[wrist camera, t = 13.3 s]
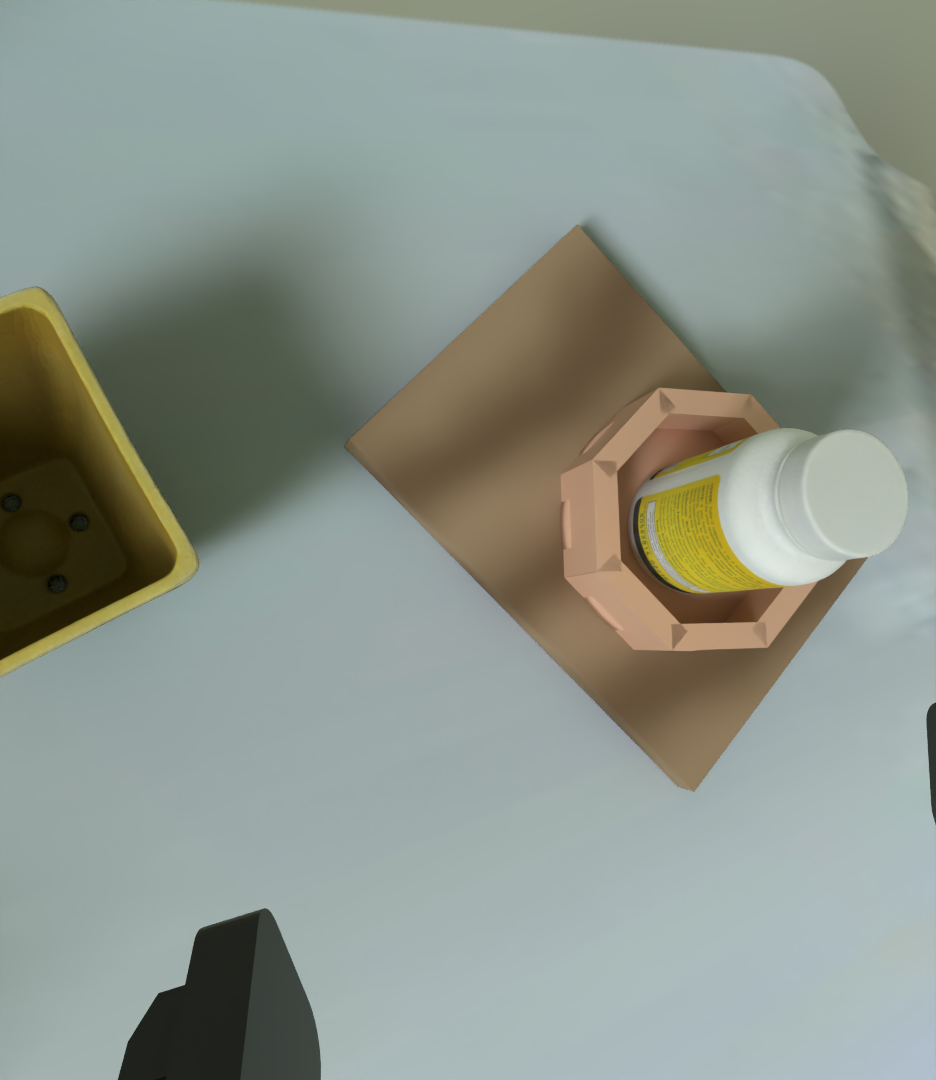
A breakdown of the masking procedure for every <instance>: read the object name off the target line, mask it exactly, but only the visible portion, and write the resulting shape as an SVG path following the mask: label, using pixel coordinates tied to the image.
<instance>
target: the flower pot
mask: <svg viewBox="0 0 936 1080" xmlns="http://www.w3.org/2000/svg"><path fill="white" fill-rule="evenodd" d="M11 495H12V496H16V497H18V498H19V499H20V503H21V504H20V507H19V508H18V509H17V510H15V511H8V510H6V509H5V508H4V507H3V501H4V499H5V498H6V497H8V496H11ZM77 515H83V516H84V517H86V518H87V520H88V525H87V527H86V528H85V529H83V530H80V531H77V530H75V529H73V528H72V527H71V519H72V518H73V517H74V516H77ZM198 568H199V559H198V556H197V553H196V551H195V549H194V548H193V546H192V545H191V543H190V541H189V539H188V537H187V536H186V534H185V532H184V531H183V529H182V527H181V525H180V524H179V522H178V520H177V519H176V517H175V516H174V514H173V512H172V511H171V509H170V507H169V506H168V504H167V502H166V501H165V499H164V497H163V496H162V494H161V493H160V491H159V489H158V487H157V486H156V484H155V482H154V480H153V479H152V477H151V475H150V474H149V472H148V470H147V469H146V467H145V465H144V463H143V462H142V460H141V458H140V456H139V455H138V453H137V451H136V449H135V448H134V446H133V444H132V443H131V441H130V439H129V438H128V436H127V434H126V432H125V430H124V428H123V426H122V424H121V422H120V421H119V419H118V417H117V415H116V413H115V412H114V410H113V408H112V406H111V404H110V402H109V400H108V398H107V397H106V395H105V393H104V391H103V389H102V387H101V385H100V384H99V382H98V380H97V378H96V376H95V374H94V372H93V370H92V368H91V367H90V365H89V363H88V361H87V359H86V358H85V356H84V354H83V352H82V350H81V348H80V346H79V344H78V342H77V340H76V339H75V337H74V335H73V333H72V331H71V329H70V327H69V325H68V323H67V321H66V319H65V317H64V315H63V313H62V311H61V310H60V308H59V306H58V304H57V303H56V301H55V300H54V298H53V297H52V296H51V295H50V294H49V293H48V292H47V291H45V290H44V289H42V288H40V287H30V288H26V289H23V290H19V291H16V292H14V293H11V294H9V295H6V296H3V297H0V677H2V676H4V675H6V674H8V673H10V672H12V671H14V670H16V669H17V668H19V667H21V666H23V665H25V664H27V663H29V662H31V661H33V660H35V659H37V658H39V657H41V656H43V655H45V654H47V653H48V652H50V651H52V650H54V649H56V648H58V647H60V646H62V645H64V644H66V643H68V642H70V641H72V640H74V639H76V638H78V637H80V636H82V635H84V634H86V633H88V632H90V631H91V630H93V629H95V628H97V627H99V626H101V625H103V624H105V623H107V622H109V621H111V620H113V619H115V618H117V617H119V616H121V615H123V614H125V613H127V612H129V611H131V610H133V609H135V608H137V607H139V606H141V605H143V604H145V603H147V602H149V601H151V600H153V599H155V598H157V597H159V596H161V595H163V594H165V593H167V592H170V591H172V590H174V589H176V588H178V587H179V586H181V585H183V584H184V583H186V582H187V581H189V580H190V579H191V578H192V577H193V576H194V575H195V574H196V572H197V571H198ZM54 576H61V577H63V578H64V579H65V581H66V586H65V588H64V589H63V590H62V591H60V592H54V591H52V590H51V589H50V588H49V586H48V583H49V580H50V579H51V578H52V577H54Z"/></svg>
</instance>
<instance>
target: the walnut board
mask: <svg viewBox="0 0 936 1080" xmlns="http://www.w3.org/2000/svg"><path fill="white" fill-rule="evenodd" d="M658 388H670V389H684V390H697V391H711V392H725V393H727V392H726V391H725V390H724V389H723V388H722V387H721V386H720V384H719V383H718V382H717V381H716V380H715V379H714V378H713V377H712V375H711V374H710V373H709V372H708V371H707V370H706V369H705V368H704V366H703V365H702V364H701V363H700V362H699V361H698V360H697V359H696V357H695V356H694V355H693V354H692V353H691V352H690V351H689V350H688V348H687V347H686V346H685V345H684V344H683V343H682V342H681V341H680V339H679V338H678V337H677V336H676V335H675V334H674V333H673V332H672V330H671V329H670V328H669V327H668V326H667V325H666V324H665V323H664V322H663V320H662V319H661V318H660V317H659V316H658V315H657V314H656V313H655V311H654V310H653V309H652V308H651V307H650V306H649V305H648V304H647V302H646V301H645V300H644V299H643V298H642V297H641V296H640V295H639V293H638V292H637V291H636V290H635V289H634V288H633V287H632V286H631V284H630V283H629V282H628V281H627V280H626V279H625V278H624V277H623V275H622V274H621V273H620V272H619V271H618V270H617V269H616V268H615V266H614V265H613V264H612V263H611V262H610V261H609V260H608V259H607V257H606V256H605V255H604V254H603V253H602V252H601V251H600V250H599V248H598V247H597V246H596V245H595V244H594V243H593V242H592V241H591V239H590V238H589V237H588V236H587V235H586V234H585V233H584V232H583V231H582V229H581V228H580V227H579V226H578V225H576V226H575V227H574V228H573V229H572V230H571V231H570V232H569V233H568V234H567V235H566V236H565V237H563V238H562V239H561V240H560V241H559V242H558V243H557V244H556V245H555V246H554V247H553V248H552V249H551V250H550V251H549V252H548V253H547V254H545V255H544V256H543V257H542V258H541V259H540V260H539V261H538V262H537V263H536V264H535V265H534V266H533V267H532V268H531V269H530V270H528V271H527V272H526V273H525V274H524V275H523V276H522V277H521V278H520V279H519V280H518V281H517V282H516V283H515V284H514V285H513V286H511V287H510V288H509V289H508V290H507V291H506V292H505V293H504V294H503V295H502V296H501V297H500V298H499V299H498V300H497V301H496V302H494V303H493V304H492V305H491V306H490V307H489V308H488V309H487V310H486V311H485V312H484V313H483V314H482V315H481V316H480V317H479V318H477V319H476V320H475V321H474V322H473V323H472V324H471V325H470V326H469V327H468V328H467V329H466V330H465V331H464V332H463V333H462V334H460V335H459V336H458V337H457V338H456V339H455V340H454V341H453V342H452V343H451V344H450V345H449V346H448V347H447V348H446V349H445V350H443V351H442V352H441V353H440V354H439V355H438V356H437V357H436V358H435V359H434V360H433V361H432V362H431V363H430V364H429V365H428V366H426V367H425V368H424V369H423V370H422V371H421V372H420V373H419V374H418V375H417V376H416V377H415V378H414V379H413V380H412V381H411V382H409V383H408V384H407V385H406V386H405V387H404V388H403V389H402V390H401V391H400V392H399V393H398V394H397V395H396V396H395V397H394V398H393V399H391V400H390V401H389V402H388V403H387V404H386V405H385V406H384V407H383V408H382V409H381V410H380V411H379V412H378V413H377V414H376V415H374V416H373V417H372V418H371V419H370V420H369V421H368V422H367V423H366V424H365V425H364V426H363V427H362V428H361V429H360V430H359V431H357V432H356V433H355V434H354V435H353V436H352V437H351V438H350V439H349V440H348V442H347V443H346V445H345V446H344V447H345V448H346V449H347V450H348V451H349V452H350V453H351V454H352V455H353V456H354V457H355V458H356V459H357V460H358V461H359V462H360V463H361V464H362V465H363V466H364V467H365V468H366V469H367V470H368V471H369V472H370V473H371V474H372V475H373V476H374V477H375V478H376V479H377V480H378V481H379V482H380V483H381V484H382V485H383V486H384V487H385V488H386V489H387V490H388V492H389V493H390V494H391V495H392V496H393V497H394V498H395V499H396V500H397V501H398V502H399V503H400V504H401V505H402V506H403V507H404V508H405V509H406V510H407V511H408V512H409V513H410V514H411V515H412V516H413V517H414V518H415V519H416V520H417V521H418V522H419V523H420V524H421V525H422V526H423V527H424V528H425V529H426V530H427V531H428V532H429V533H430V534H431V535H432V536H433V537H434V538H435V539H436V540H437V541H438V542H439V543H440V544H441V545H442V546H443V548H444V549H445V550H446V551H447V552H448V553H449V554H450V555H451V556H452V557H453V558H454V559H455V560H456V561H457V562H458V563H459V564H460V565H461V566H462V567H463V568H464V569H465V570H466V571H467V572H468V573H469V574H470V575H471V576H472V577H473V578H474V579H475V580H476V581H477V582H478V583H479V584H480V585H481V586H482V587H483V588H484V589H485V590H486V591H487V592H488V593H489V594H490V595H491V596H492V597H493V598H494V599H495V600H496V601H497V602H498V603H499V605H500V606H501V607H502V608H503V609H504V610H505V611H506V612H507V613H508V614H509V615H510V616H511V617H512V618H513V619H514V620H515V621H516V622H517V623H518V624H519V625H520V626H521V627H522V628H523V629H524V630H525V631H526V632H527V633H528V634H529V635H530V636H531V637H532V638H533V639H534V640H535V641H536V642H537V643H538V644H539V645H540V646H541V647H542V648H543V649H544V650H545V651H546V652H547V653H548V654H549V655H550V656H551V657H552V658H553V659H554V661H555V662H556V663H557V664H558V665H559V666H560V667H561V668H562V669H563V670H564V671H565V672H566V673H567V674H568V675H569V676H570V677H571V678H572V679H573V680H574V681H575V682H576V683H577V684H578V685H579V686H580V687H581V688H582V689H583V690H584V691H585V692H586V693H587V694H588V695H589V696H590V697H591V698H592V699H593V700H594V701H595V702H596V703H597V704H598V705H599V706H600V707H601V708H602V709H603V710H604V711H605V712H606V713H607V714H608V715H609V716H610V718H611V719H612V720H613V721H614V722H615V723H616V724H617V725H618V726H619V727H620V728H621V729H622V730H623V731H624V732H625V733H626V734H627V735H628V736H629V737H630V738H631V739H632V740H633V741H634V742H635V743H636V744H637V745H638V746H639V747H640V748H641V749H642V750H643V751H644V752H645V753H646V754H647V755H648V756H649V757H650V758H651V759H652V760H653V761H654V762H655V763H656V764H657V765H658V766H659V767H660V768H661V769H662V770H663V771H664V772H665V774H666V775H667V776H668V777H669V778H670V779H671V780H672V781H673V782H674V783H675V784H676V785H677V786H678V787H681V788H684V789H687V790H690V791H695V790H696V788H697V787H698V786H699V784H700V783H701V782H702V780H703V779H704V778H705V776H706V775H707V774H708V772H709V771H710V770H711V768H712V767H713V766H714V764H715V763H716V761H717V760H718V759H719V757H720V756H721V755H722V753H723V752H724V751H725V749H726V748H727V747H728V745H729V744H730V743H731V741H732V740H733V739H734V737H735V736H736V735H737V733H738V732H739V730H740V729H741V728H742V726H743V725H744V724H745V722H746V721H747V720H748V718H749V717H750V716H751V714H752V713H753V712H754V710H755V709H756V708H757V706H758V705H759V704H760V702H761V701H762V699H763V698H764V697H765V695H766V694H767V693H768V691H769V690H770V689H771V687H772V686H773V685H774V683H775V682H776V681H777V679H778V678H779V677H780V675H781V674H782V672H783V671H784V670H785V668H786V667H787V666H788V664H789V663H790V662H791V660H792V659H793V658H794V656H795V655H796V654H797V652H798V651H799V650H800V648H801V647H802V646H803V644H804V643H805V641H806V640H807V639H808V637H809V636H810V635H811V633H812V632H813V631H814V629H815V628H816V627H817V625H818V624H819V623H820V621H821V620H822V619H823V617H824V616H825V614H826V613H827V612H828V610H829V609H830V608H831V606H832V605H833V604H834V602H835V601H836V600H837V598H838V597H839V596H840V594H841V593H842V592H843V590H844V589H845V588H846V586H847V585H848V583H849V582H850V581H851V579H852V578H853V577H854V575H855V574H856V573H857V571H858V570H859V569H860V567H861V566H862V565H863V563H864V562H865V561H866V559H867V558H868V557H865V558H857V559H850V560H846V562H845V563H844V564H843V565H842V566H841V567H840V568H839V569H837V570H836V571H835V572H834V573H832V574H831V575H829V576H828V577H826V578H824V579H821V580H819V581H818V582H817V583H816V585H815V586H814V587H813V589H812V590H811V591H810V592H809V594H808V595H807V596H806V598H805V599H804V600H803V602H802V603H801V604H800V606H799V607H798V608H797V610H796V611H795V612H794V614H793V615H792V616H791V618H790V619H789V620H788V622H787V623H786V624H785V625H784V627H783V628H782V629H781V631H780V632H779V633H778V635H777V636H776V637H775V639H774V640H773V641H772V643H771V644H770V645H769V647H768V648H742V649H712V650H696V651H662V650H633V649H632V647H631V646H630V645H629V644H628V643H627V642H626V641H625V640H624V639H623V638H622V637H621V636H620V635H619V634H618V633H617V632H616V631H615V630H614V629H612V628H611V627H610V626H608V625H607V624H606V623H605V622H604V621H603V620H602V619H601V618H600V617H599V616H598V615H597V614H596V613H595V612H594V611H593V610H592V608H591V607H590V606H589V605H588V604H587V602H586V601H585V599H584V598H583V597H582V596H581V594H580V593H579V592H578V591H577V590H576V589H575V588H574V587H573V586H572V585H571V584H570V583H569V582H568V581H567V580H566V579H565V577H564V555H563V546H562V540H561V530H560V509H561V503H562V500H561V474H562V473H563V472H564V471H565V469H566V468H567V467H568V466H569V465H570V464H571V463H572V462H573V461H574V460H575V459H576V458H577V457H578V455H579V454H580V452H581V450H582V449H583V448H584V447H585V445H586V444H587V443H588V442H589V440H590V439H591V438H592V437H593V436H594V435H596V434H597V433H598V432H599V431H600V430H601V429H602V428H604V427H605V426H607V424H608V423H609V422H610V421H611V420H612V419H613V418H614V417H615V416H616V415H617V414H618V413H619V412H620V410H621V409H622V408H624V407H626V406H627V405H629V404H631V403H633V402H635V401H636V400H638V399H640V398H642V397H643V396H645V395H647V394H649V393H650V392H652V391H654V390H656V389H658Z"/></svg>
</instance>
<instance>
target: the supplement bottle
mask: <svg viewBox="0 0 936 1080" xmlns="http://www.w3.org/2000/svg"><path fill="white" fill-rule="evenodd" d="M907 510H908V490H907V483H906V480H905V476H904V473H903V470H902V468H901V466H900V464H899V462H898V460H897V459H896V457H895V456H894V454H893V453H892V452H891V451H890V449H889V448H888V447H887V446H886V445H885V444H884V443H882V442H881V441H880V440H879V439H877V438H876V437H874V436H872V435H871V434H868V433H866V432H863V431H859V430H853V429H843V430H837V431H834V432H830V433H827V434H823V435H820V436H818V435H816V434H813V433H811V432H808V431H805V430H801V429H795V428H779V429H773V430H769V431H766V432H762V433H759V434H756V435H753V436H751V437H748V438H745V439H742V440H740V441H737V442H734V443H731V444H728V445H725V446H723V447H720V448H717V449H714V450H711V451H709V452H706V453H703V454H700V455H697V456H694V457H692V458H689V459H686V460H683V461H680V462H677V463H675V464H672V465H670V466H667V467H665V468H663V469H660V470H659V471H657V472H655V473H654V474H652V475H651V476H650V477H648V478H647V479H646V480H645V481H644V482H643V483H642V485H641V486H640V487H639V489H638V490H637V492H636V494H635V496H634V498H633V500H632V503H631V506H630V510H629V515H628V535H629V541H630V545H631V548H632V551H633V553H634V556H635V558H636V560H637V561H638V563H639V565H640V566H641V567H642V569H643V570H644V571H645V572H646V574H647V575H648V576H649V577H650V578H652V579H653V580H654V581H655V582H657V583H658V584H660V585H662V586H663V587H665V588H667V589H670V590H672V591H676V592H680V593H687V594H702V593H715V592H730V591H742V590H754V589H765V588H781V587H791V586H799V585H804V584H810V583H813V582H817V581H819V580H821V579H824V578H826V577H828V576H829V575H831V574H832V573H834V572H835V571H836V570H837V569H839V568H840V567H841V566H842V565H843V564H844V563H845V562H846V560H850V559H857V558H865V557H870V556H873V555H876V554H878V553H880V552H882V551H884V550H885V549H886V548H888V547H889V546H890V545H891V544H892V543H893V542H894V541H895V540H896V538H897V537H898V535H899V534H900V532H901V530H902V528H903V526H904V523H905V520H906V516H907Z"/></svg>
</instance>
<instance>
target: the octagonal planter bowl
mask: <svg viewBox="0 0 936 1080" xmlns="http://www.w3.org/2000/svg"><path fill="white" fill-rule="evenodd" d="M779 428H781V427H780V426H779V425H778V424H777V423H776V422H775V420H774V419H773V418H772V417H771V416H770V415H769V414H768V413H767V411H766V410H765V409H764V408H763V407H762V406H761V405H760V404H759V402H758V401H757V400H756V399H755V398H754V397H753V396H752V395H751V394H738V393H725V392H711V391H697V390H684V389H670V388H658V389H656V390H654V391H652V392H650V393H649V394H647V395H645V396H643V397H642V398H640V399H638V400H636V401H635V402H633V403H631V404H629V405H627V406H626V407H624V408H622V409H621V410H620V412H619V413H618V414H617V415H616V416H615V417H614V418H613V419H612V420H611V421H610V422H609V423H608V424H607V426H605V427H604V428H602V429H601V430H600V431H599V432H598V433H597V434H596V435H594V436H593V437H592V438H591V439H590V440H589V442H588V443H587V444H586V445H585V447H584V448H583V449H582V450H581V452H580V454H579V455H578V457H577V458H576V459H575V460H574V461H573V462H572V463H571V464H570V465H569V466H568V467H567V468H566V469H565V471H564V472H563V473H562V474H561V500H562V503H561V509H560V530H561V540H562V546H563V555H564V577H565V579H566V580H567V581H568V582H569V583H570V584H571V585H572V586H573V587H574V588H575V589H576V590H577V591H578V592H579V593H580V594H581V596H582V597H583V598H584V599H585V601H586V602H587V604H588V605H589V606H590V607H591V608H592V610H593V611H594V612H595V613H596V614H597V615H598V616H599V617H600V618H601V619H602V620H603V621H604V622H605V623H606V624H607V625H608V626H610V627H611V628H612V629H614V630H615V631H616V632H617V633H618V634H619V635H620V636H621V637H622V638H623V639H624V640H625V641H626V642H627V643H628V644H629V645H630V646H631V647H632V649H633V650H662V651H696V650H712V649H742V648H768V647H769V645H770V644H771V643H772V641H773V640H774V639H775V637H776V636H777V635H778V633H779V632H780V631H781V629H782V628H783V627H784V625H785V624H786V623H787V622H788V620H789V619H790V618H791V616H792V615H793V614H794V612H795V611H796V610H797V608H798V607H799V606H800V604H801V603H802V602H803V600H804V599H805V598H806V596H807V595H808V594H809V592H810V591H811V590H812V589H813V587H814V586H815V585H816V583H817V582H818V581H817V582H813V583H810V584H804V585H799V586H791V587H781V588H765V589H754V590H742V591H730V592H715V593H702V594H687V593H680V592H676V591H672V590H670V589H667V588H665V587H663V586H662V585H660V584H658V583H657V582H655V581H654V580H653V579H652V578H650V577H649V576H648V575H647V574H646V572H645V571H644V570H643V569H642V567H641V566H640V565H639V563H638V561H637V560H636V558H635V556H634V553H633V551H632V548H631V545H630V541H629V535H628V515H629V510H630V506H631V503H632V500H633V498H634V496H635V494H636V492H637V490H638V489H639V487H640V486H641V485H642V483H643V482H644V481H645V480H646V479H647V478H648V477H650V476H651V475H652V474H654V473H655V472H657V471H659V470H660V469H663V468H665V467H667V466H670V465H672V464H675V463H677V462H680V461H683V460H686V459H689V458H692V457H694V456H697V455H700V454H703V453H706V452H709V451H711V450H714V449H717V448H720V447H723V446H725V445H728V444H731V443H734V442H737V441H740V440H742V439H745V438H748V437H751V436H753V435H756V434H759V433H762V432H766V431H769V430H773V429H779Z"/></svg>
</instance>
